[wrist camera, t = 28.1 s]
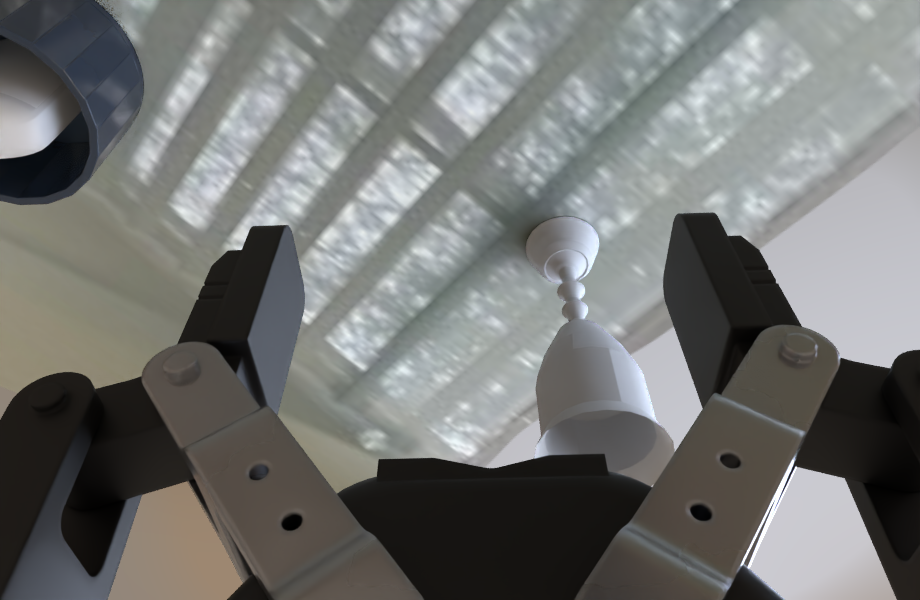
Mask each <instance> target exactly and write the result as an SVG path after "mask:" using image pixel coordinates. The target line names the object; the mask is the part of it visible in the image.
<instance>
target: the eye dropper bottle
mask: <svg viewBox="0 0 920 600" xmlns="http://www.w3.org/2000/svg"><path fill="white" fill-rule="evenodd" d="M80 112H81V108H80V106H79V103H78V101H77V100H76V98H75V97H74V95H73V94H72V93H71V91H70V90H69V89H68V87H67V86H66V85H65V83H64V82H63V81H62V79H61V78H60V77H59V75H58V74H57V73H56V72H55V71H53V70H52V69H51V68H50V67H49V66H48V65H46V64H45V63H44V62H43V61H42V60H40V59H39V58H38V57H37V56H36V55H35V54H33V53H32V52H31V51H30V50H28V49H26V48H25V47H23V46H21V45H19V44H17V43H15V42H13V41H11V40H9V39H4V40H0V159H5V158H15V157H21V156H26V155H30V154H34V153H36V152H39V151H41V150H43V149H44V148H45V147H47V146H48V145H49V144H50V143H51V142H52V141H53V140H54V139H55V138H56V137H57V136H58V135H59V134H60V133H61V132H62V131H63V130H64V129H65V128H66V127H67V126H68V125H69V123H70V122H71V121H72V120H73V119H74V118H75V117H76V116H77V115H78V114H79V113H80Z"/></svg>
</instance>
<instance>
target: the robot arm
mask: <svg viewBox="0 0 920 600" xmlns="http://www.w3.org/2000/svg"><path fill="white" fill-rule="evenodd" d="M204 283H205V286H203V287H202V289H201V291H200V294H199V296H198V297H199V300H196V303H195V305H194V307H193V310H192V312H191V314H190V316H189V319H188V321H187V323H186V325H185V328H184V330H183V332H182V335H181V337H180V339H179V341H178V344H177V345H174V346H171V347H168V348H166V349H165V350H163V351H161V352H159V353H158V354H156V355H155V356H154V357H153V358H152V359H151V360H150V361H149V362H148V363H147V365H146V366H145V368H144V370H143V372H142V376H141V377H138V378H135V379H132V380H129V381H125V382H121V383H117V384H113V385H109V386H105V387H102V388H98V389H95V388H94V386H93V384H92V382H91V381H90V379H89V378H87V377H86V376H84V375H82V374H79V373H74V372H63V373H56V374H52V375H49V376H46V377H43V378H41V379H38V380H36V381H34V382H33V383H31V384H29V385H28V386H26V387H25V388H23V389H22V390H21V391H20V392H19V393H18V394H17V395H16V396H15V397H14V398H13V399H12V401H11V402H10V404H9V406H8V407H7V409H6V411H5V412H4V414H3V416H2V418H1V420H0V600H107V599H108V597H109V594H110V591H111V587H112V585H113V582H114V579H115V576H116V572H117V569H118V566H119V563H120V560H121V557H122V554H123V551H124V548H125V545H126V542H127V539H128V536H129V533H130V530H131V527H132V524H133V521H134V518H135V515H136V512H137V509H138V506H139V503H140V499H141V496H142V495H143V494H146V493H149V492H152V491H156V490H159V489H163V488H166V487H169V486H173V485H176V484H179V483H182V482H186V481H187V482H188V484H189V486H190V488H191V489H192V491H193V493H194V495H195V496H196V498H197V500H198V502H199V503H200V505H201V507H202V509H203V510H204V512H205V514H206V515H207V517H208V519H209V521H210V523H211V524H212V526H213V528H214V530H215V531H216V533H217V535H218V537H219V539H220V540H221V542H222V544H223V545H224V547H225V549H226V551H227V553H228V555H229V557H230V559H231V561H232V563H233V565H234V567H235V569H236V571H237V573H238V575H239V576H240V579H241V580H242V582H243V584H242V585H241V586H240V587H239V588H238V589H237V590H236V591H235V592H234V593H233V594H232V595H231V596H230V597H229V598H228V599H227V600H785V599H784V598H783V597H781V596H780V595H779V594H778V593H777V592H776V591H775V590H773V589H772V588H771V587H770V586H769V585H768V584H766V583H765V582H764V581H763V580H762V579H761V578H760V577H758V576H757V575H756V574H755V573H754V572H753V571H752V570H750V569H749V567H750V565H751V563H752V560H753V558H754V556H755V554H756V552H757V549H758V547H759V545H760V543H761V540H762V538H763V536H764V534H765V532H766V530H767V528H768V526H769V524H770V521H771V519H772V517H773V515H774V513H775V511H776V509H777V507H778V505H779V503H780V501H781V498H782V496H783V494H784V492H785V490H786V488H787V486H788V484H789V482H790V480H791V478H792V476H793V474H794V471H795V469H796V467H800V468H804V469H808V470H813V471H817V472H821V473H825V474H829V475H834V476H838V477H842V478H845V480H846V482H847V484H848V487H849V489H850V491H851V494H852V496H853V498H854V501H855V503H856V505H857V508H858V510H859V512H860V515H861V517H862V519H863V522H864V524H865V526H866V529H867V531H868V533H869V535H870V538H871V540H872V543H873V545H874V547H875V549H876V552H877V554H878V557H879V559H880V561H881V564H882V566H883V568H884V571H885V573H886V575H887V578H888V580H889V582H890V585H891V587H892V589H893V591H894V594H895V596H896V599H897V600H920V350H913V351H907V352H905V353H902V354H901V355H899V356H898V357H897V358H896V359H895V360H894V362H893V364H892V367H891V369H890V368H885V367H880V366H874V365H869V364H864V363H859V362H854V361H850V360H846V359H843V358H840V355H839V352H838V350H837V349H836V347H835V346H834V345H833V344H832V343H831V342H830V341H829V340H828V339H827V338H825V337H823V336H822V335H821V334H819V333H817V332H815V331H812V330H810V329H807V328H804V327H802V326H801V324H800V323H799V321H798V319H797V317H796V315H795V313H794V312H793V310H792V308H791V306H790V304H789V303H788V301H787V299H786V297H785V296H784V294H783V292H782V290H781V288H780V287H779V285H778V284H776V279H775V278H774V276H773V274H772V272H771V270H768V265H767V263H766V262H765V260H764V258H763V256H762V254H761V253H760V251H759V250H758V249H757V248H756V247H755V246H753V245H752V244H751V243H749V242H748V241H747V240H746V239H744V238H743V237H742V236H727V234H726V232H725V230H724V228H723V226H722V224H721V222H720V220H719V218H718V216H717V215H716V214H715V213H684V214H677V215H676V216H675V219H674V222H673V227H672V232H671V238H670V243H669V248H668V254H667V259H666V265H665V270H664V278H663V290H664V298H665V302H666V305H667V308H668V311H669V314H670V317H671V319H672V322H673V325H674V328H675V331H676V334H677V336H678V339H679V342H680V345H681V348H682V351H683V353H684V356H685V359H686V362H687V365H688V368H689V370H690V373H691V376H692V379H693V381H694V385H695V388H696V391H697V393H698V396H699V399H700V402H701V405H702V408H703V410H702V411H701V413H700V414H699V416H698V418H697V419H696V421H695V422H694V424H693V425H692V427H691V428H690V430H689V431H688V433H687V434H686V436H685V437H684V439H683V441H682V442H681V444H680V445H679V447H678V448H677V450H676V451H675V453H674V455H673V456H672V458H671V459H670V461H669V462H668V464H667V465H666V467H665V468H664V470H663V472H662V473H661V475H660V476H659V478H658V479H657V481H656V482H655V484H654V486H653V487H651V486H649V485H647V484H645V483H643V482H641V481H639V480H636V479H634V478H631V477H629V476H626V475H622V474H619V473H615V472H611V471H608V468H607V463H606V458H605V454H571V455H547V456H543V457H539V458H535V459H531V460H527V461H523V462H519V463H515V464H511V465H507V466H503V467H499V468H483V467H478V466H473V465H468V464H463V463H458V462H452V461H447V460H442V459H437V458H412V459H379V461H378V471H377V477H373V478H370V479H367V480H364V481H361V482H358V483H356V484H354V485H352V486H349V487H347V488H345V489H343V490H342V491H340V492H339V493H337V494H336V492H335V491H334V490H333V488H332V487H331V486H330V484H329V483H328V482H327V481H326V479H325V478H324V477H323V475H322V474H321V473H320V471H319V470H318V469H317V467H316V466H315V465H314V463H313V462H312V461H311V459H310V458H309V457H308V455H307V454H306V453H305V452H304V450H303V449H302V448H301V446H300V445H299V444H298V442H297V441H296V440H295V438H294V437H293V436H292V434H291V433H290V432H289V430H288V429H287V428H286V426H285V425H284V424H283V423H282V421H281V420H280V419H279V417H278V416H277V415H278V411H279V407H280V403H281V399H282V395H283V391H284V387H285V383H286V379H287V375H288V371H289V367H290V363H291V359H292V356H293V352H294V348H295V344H296V340H297V336H298V332H299V328H300V324H301V320H302V316H303V312H304V304H305V293H304V284H303V279H302V275H301V270H300V266H299V261H298V257H297V252H296V248H295V243H294V239H293V235H292V231H291V229H290V227H289V226H288V225H276V226H253V227H251V229H250V231H249V233H248V236H247V238H246V241H245V243H244V246H243V248H242V250H231V251H227V252H226V253H225V254H224V255H223V256H222V257H221V258H220V259H219V260H217V261H216V262H215V263H214V264H213V265H212V266H211V269H210V271H209V273H208V275H207V278H206V280H205V282H204Z"/></svg>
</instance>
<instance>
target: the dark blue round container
mask: <svg viewBox="0 0 920 600" xmlns="http://www.w3.org/2000/svg"><path fill="white" fill-rule="evenodd" d="M4 39H9V40H11V41H13V42H15V43H17V44H19V45H21V46H23V47H25V48H26V49H28V50H30V51H31V52H32V53H33V54H35V55H36V56H37V57H38V58H39V59H40V60H42V61H43V62H44V63H45V64H46V65H48V66H49V67H50V68H51V69H52V70H53V71H55V72H56V73H57V74H58V75H59V77H60V78H61V79H62V81H63V82H64V83H65V85H66V86H67V87H68V89H69V90H70V91H71V93H72V94H73V95H74V97H75V98H76V100H77V101H78V103H79V106H80V108H81V112H80V113H79V114H78V115H77V116H76V117H75V118H74V119H73V120H72V121H71V122H70V123H69V125H68V126H67V127H66V128H65V129H64V130H63V131H62V132H61V133H60V134H59V135H58V136H57V137H56V138H55V139H54V140H53V141H52V142H51V143H50V144H49V145H48V146H47V147H45V148H44V149H43V150H41V151H39V152H36V153H34V154H30V155H26V156H21V157H15V158H5V159H0V201H4V202H8V203H13V204H17V205H33V204H49V203H52V202H55V201H58V200H61V199H63V198H66V197H69V196H72V195H73V194H74V193H76V192H77V191H78V190H79V189H80V188H81V187H82V186H83V185H84V184H85V183H86V182H87V181H88V180H90V178H91V177H92V176H93V174H94V173H95V172H96V171H97V169H98V168H99V167H100V165H101V164H102V163H103V162H104V160H105V159H106V158H107V156H108V155H109V154H110V153H111V151H112V150H113V149H114V147H115V146H116V145H117V144H118V142H119V141H120V140H121V139H122V137H123V136H124V135H125V133H126V132H127V131H128V130H129V128H130V127H131V126H132V124H133V121H134V120H135V118H136V116H137V115H138V113H139V110H140V107H141V104H142V99H143V76H142V71H141V67H140V63H139V60H138V57H137V55H136V52H135V50H134V48H133V46H132V44H131V42H130V40H129V39H128V37H127V36H126V34H125V33H124V31H123V30H122V28H121V27H120V26H119V25H118V23H117V22H116V21H115V20H114V19H113V17H112V16H111V15H110V14H109V13H108V12H107V11H106V10H105V9H104V8H103V7H101V6H100V5H99V4H98V3H97V2H95V1H94V0H0V40H4Z"/></svg>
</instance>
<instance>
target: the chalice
mask: <svg viewBox="0 0 920 600" xmlns="http://www.w3.org/2000/svg"><path fill="white" fill-rule="evenodd" d="M598 249H599V239H598V235H597V233H596V232H595V230H594V228H593V227H592V226H590V225H589V224H588V223H587V222H586V221H583V220H581V219H578V218H575V217H564V216H562V217H557V218H552V219H549V220H547V221H545V222H543V223H541V224H540V225H539V226H538V227H537V228H535V229H534V230H533V231H532V233H531V234H530V236H529V238H528V240H527V244H526V254H527V258H528V260H529V261H530V263H531V264H532V266H533V267H534V268H536V269H537V271H538V272H539V273H541V275H542V276H543V277H544V278H545V279H547V280H548V281H550V282H553V283H556V284H561V285H560V286H559V288H558V291H557V293H558V296H559V298H560V299H562V300H563V301H566V304H565V305H564V306H563V308H562V314H563V316H564V317H565V318H567V319H568V320H569V322H568V323H566V324H564V325H563V326H562V327H561V328H560V330H559V331H558V333H557V335H556V336H555V338H554V340H553V342H552V343H551V345H550V347H549V348H548V350H547V352H546V354H545V355H544V358H543V361H542V364H541V367H540V370H539V373H538V376H537V383H536V396H537V405H538V413H539V421H540V430H541V438H540V439H539V441H538V443H537V445H536V449H535V456H534V459H535V458H539V457H543V456H547V455H571V454H605V458H606V463H607V468H608V471H611V472H615V473H619V474H622V475H626V476H629V477H631V478H634V479H636V480H639V481H641V482H643V483H645V484H647V485H649V486H652V485H654V484H655V482H656V481H657V479H658V478H659V476H660V475H661V473H662V472H663V470H664V468H665V467H666V465H667V464H668V462H669V461H670V459H671V458H672V456H673V455H674V453H675V452H674V444H673V440H672V439H671V438H670V436H669V435H668V433H667V432H666V430H665V429H664V428H663V427H662V426H661V425H660V424H659V423H658V422H657V421H656V418H655V414H654V411H653V407H652V403H651V400H650V396H649V393H648V389H647V386H646V382H645V379H644V375H643V372H642V371H641V369H640V368H639V366H638V365H637V363H636V362H635V360H634V359H633V358H632V357H631V356H630V354H629V353H628V352H627V351H626V349H625V348H624V347H623V346H622V345H621V344H620V343H619V342H618V341H617V340H616V339H615V338H613V337H612V336H611V335H610V334H609V333H607V332H606V331H605V330H604V329H603V328H601V327H600V326H599V325H598V324H596V323H595V322H593V321H590V320H585V316H586V314H587V312H588V308H587V306H586V304H585V303H583V302H581V301H580V299H581V298H582V297H583V296H584V294H585V288H584V286H583V285H582V284H581V283H580V282H577V281H578V280H581V279H582V278H583V277H584V276H586V275H587V274H588V272H589V271H590V269H591V268H592V264H593V262H594V260H595V257H596V255H597V253H598Z"/></svg>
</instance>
